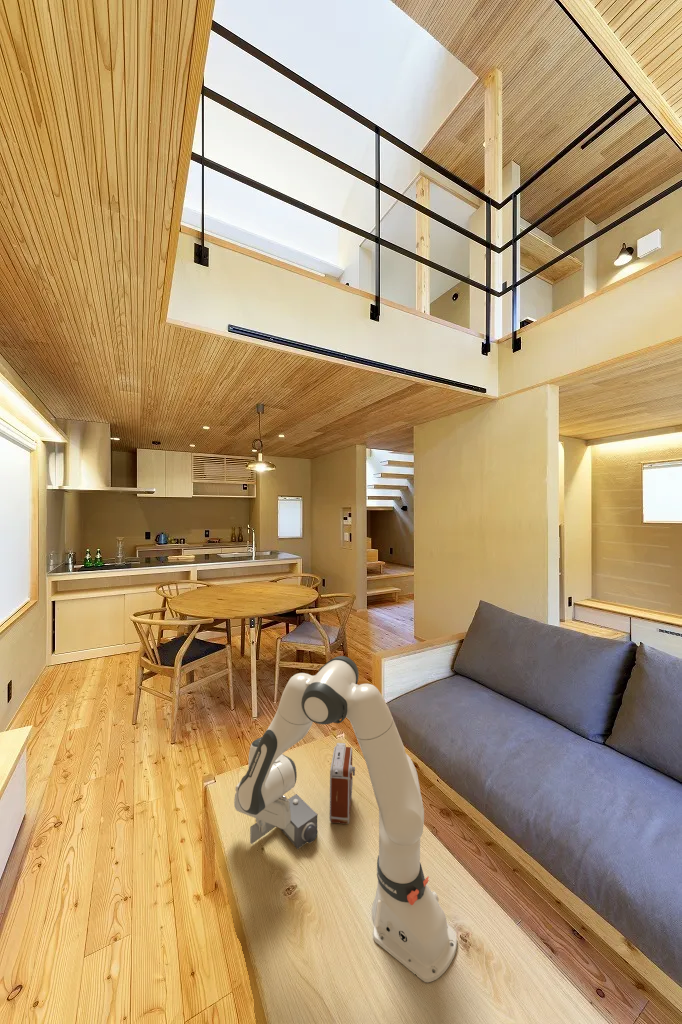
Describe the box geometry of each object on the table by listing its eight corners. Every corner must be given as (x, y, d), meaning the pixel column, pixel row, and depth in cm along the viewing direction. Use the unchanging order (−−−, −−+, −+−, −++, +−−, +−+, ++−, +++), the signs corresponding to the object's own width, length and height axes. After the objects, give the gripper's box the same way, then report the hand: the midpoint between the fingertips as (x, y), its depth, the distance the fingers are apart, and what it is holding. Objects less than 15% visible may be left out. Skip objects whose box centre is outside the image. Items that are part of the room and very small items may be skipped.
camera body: (321, 839, 124) (321, 817, 124) (302, 854, 119) (302, 831, 118) (296, 813, 135) (296, 792, 135) (277, 825, 129) (277, 804, 129)
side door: (251, 845, 121) (251, 827, 121) (249, 843, 122) (250, 825, 122) (278, 826, 128) (278, 808, 128) (276, 824, 129) (276, 807, 129)
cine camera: (355, 785, 148) (356, 736, 148) (352, 827, 129) (353, 770, 128) (332, 784, 149) (333, 734, 149) (326, 825, 130) (326, 768, 129)
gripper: (294, 791, 121) (294, 833, 121) (243, 773, 129) (243, 813, 129) (284, 805, 115) (284, 849, 116) (231, 785, 124) (231, 827, 124)
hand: (262, 830), depth 123 cm, fingers closed
